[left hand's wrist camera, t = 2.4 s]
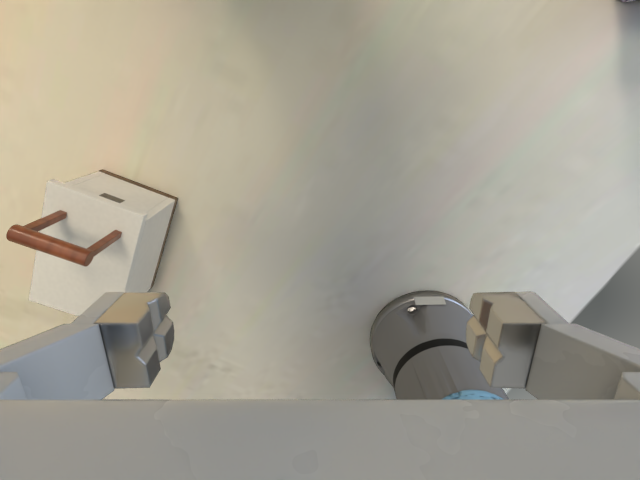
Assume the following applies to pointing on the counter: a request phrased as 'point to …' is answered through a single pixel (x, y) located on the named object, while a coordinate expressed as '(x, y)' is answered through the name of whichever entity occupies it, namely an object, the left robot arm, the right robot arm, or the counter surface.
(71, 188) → the lid
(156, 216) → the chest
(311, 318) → the counter surface
